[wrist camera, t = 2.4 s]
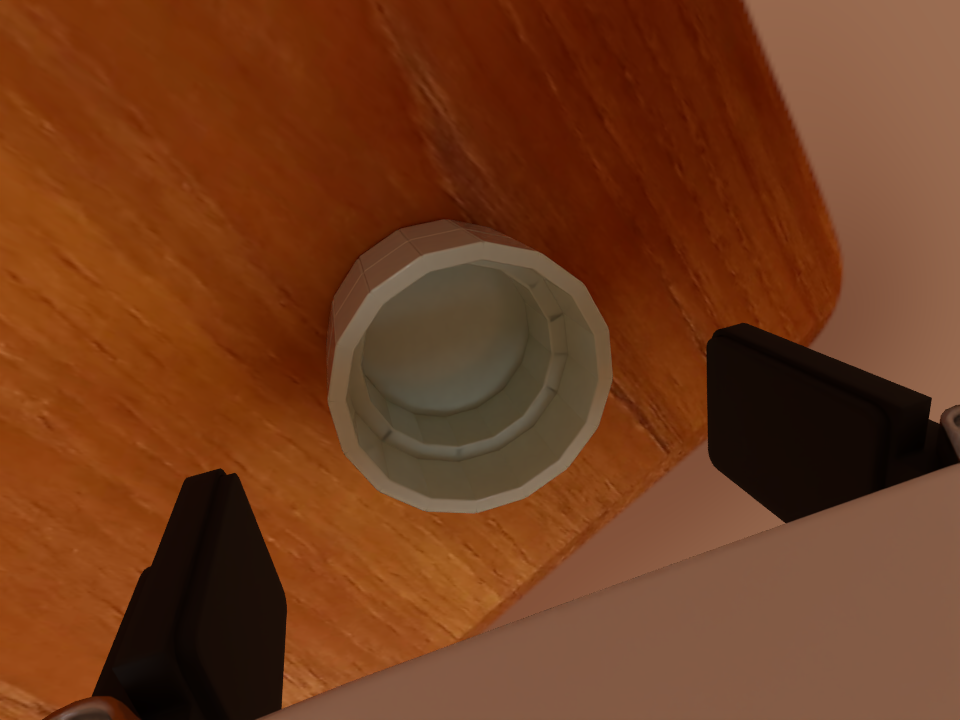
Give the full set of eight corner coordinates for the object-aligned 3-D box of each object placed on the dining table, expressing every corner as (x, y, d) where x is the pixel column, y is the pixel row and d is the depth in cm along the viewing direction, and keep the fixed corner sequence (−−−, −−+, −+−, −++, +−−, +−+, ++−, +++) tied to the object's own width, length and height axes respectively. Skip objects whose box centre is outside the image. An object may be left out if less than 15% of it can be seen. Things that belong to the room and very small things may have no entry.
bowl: (532, 197, 17) (600, 215, 13) (558, 400, 19) (621, 469, 15) (298, 247, 16) (290, 284, 12) (360, 456, 18) (371, 546, 14)
